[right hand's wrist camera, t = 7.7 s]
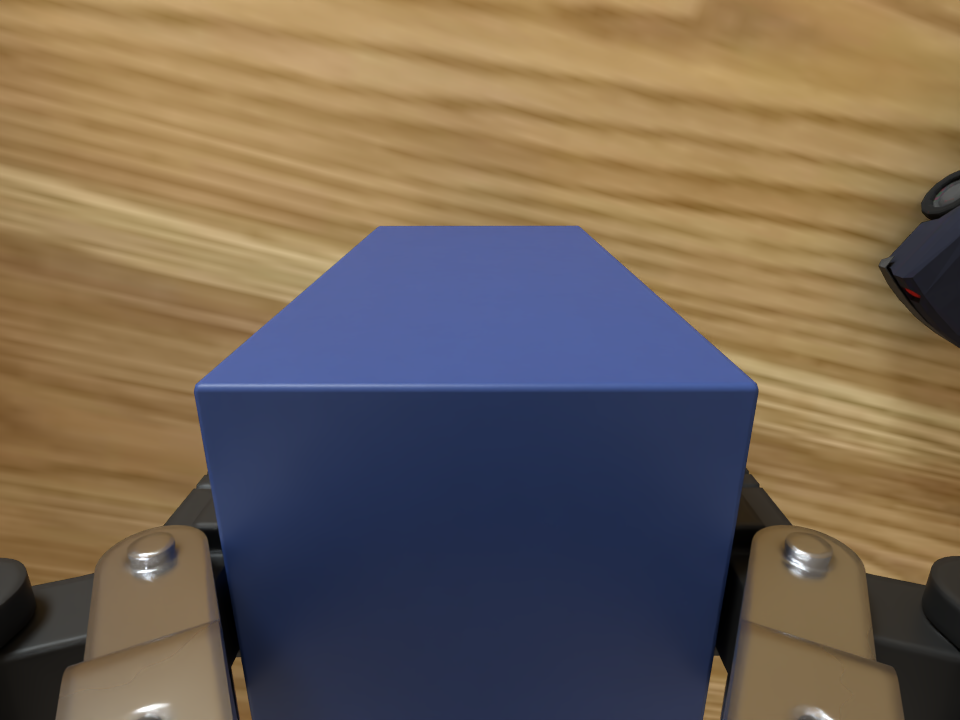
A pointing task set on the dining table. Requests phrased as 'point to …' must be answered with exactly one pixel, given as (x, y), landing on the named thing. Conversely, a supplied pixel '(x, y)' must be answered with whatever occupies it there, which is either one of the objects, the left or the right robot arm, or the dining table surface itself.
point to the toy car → (932, 263)
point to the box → (477, 486)
